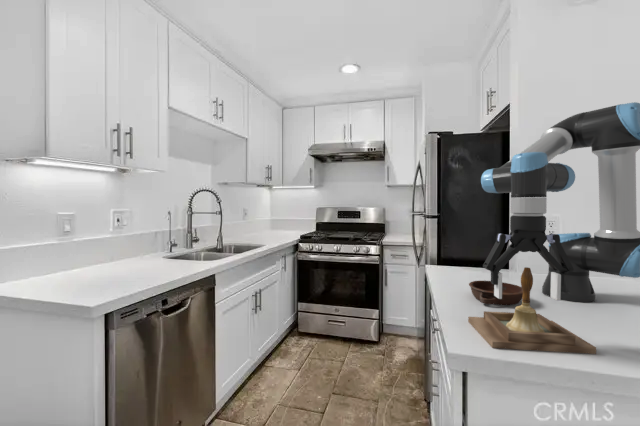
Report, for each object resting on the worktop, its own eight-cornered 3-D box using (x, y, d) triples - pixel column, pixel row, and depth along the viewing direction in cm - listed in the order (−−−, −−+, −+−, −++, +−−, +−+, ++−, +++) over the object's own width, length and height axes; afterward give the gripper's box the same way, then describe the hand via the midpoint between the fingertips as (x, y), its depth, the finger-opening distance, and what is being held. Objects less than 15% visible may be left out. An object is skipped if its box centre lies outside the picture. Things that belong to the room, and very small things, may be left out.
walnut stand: (551, 325, 85) (552, 313, 85) (596, 354, 70) (596, 338, 69) (468, 321, 88) (468, 309, 88) (492, 347, 72) (492, 333, 72)
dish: (530, 298, 111) (531, 284, 111) (519, 314, 95) (519, 298, 95) (478, 289, 123) (478, 276, 123) (459, 302, 107) (460, 287, 106)
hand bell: (543, 327, 80) (544, 266, 80) (546, 339, 73) (548, 272, 73) (505, 321, 85) (507, 263, 84) (505, 331, 78) (506, 268, 77)
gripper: (571, 214, 80) (569, 294, 81) (470, 214, 83) (469, 292, 84) (593, 215, 73) (591, 304, 73) (481, 215, 76) (480, 301, 77)
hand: (526, 298), depth 79 cm, fingers open, 13 cm apart
